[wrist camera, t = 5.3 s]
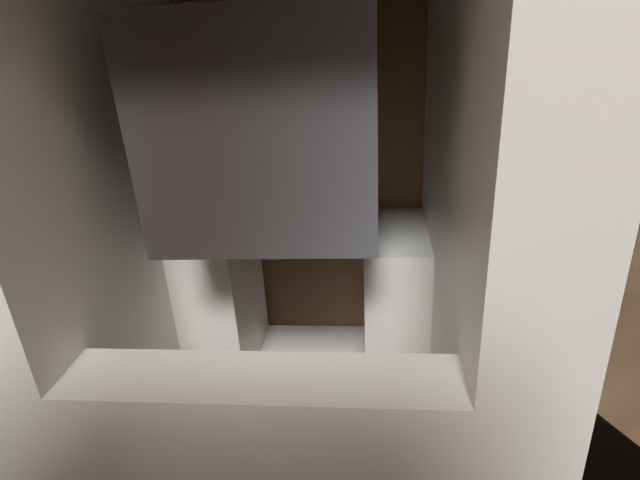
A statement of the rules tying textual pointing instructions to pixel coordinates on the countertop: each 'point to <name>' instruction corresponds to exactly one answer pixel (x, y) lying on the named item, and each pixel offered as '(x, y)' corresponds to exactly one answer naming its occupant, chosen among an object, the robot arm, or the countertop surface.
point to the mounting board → (272, 136)
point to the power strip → (379, 274)
